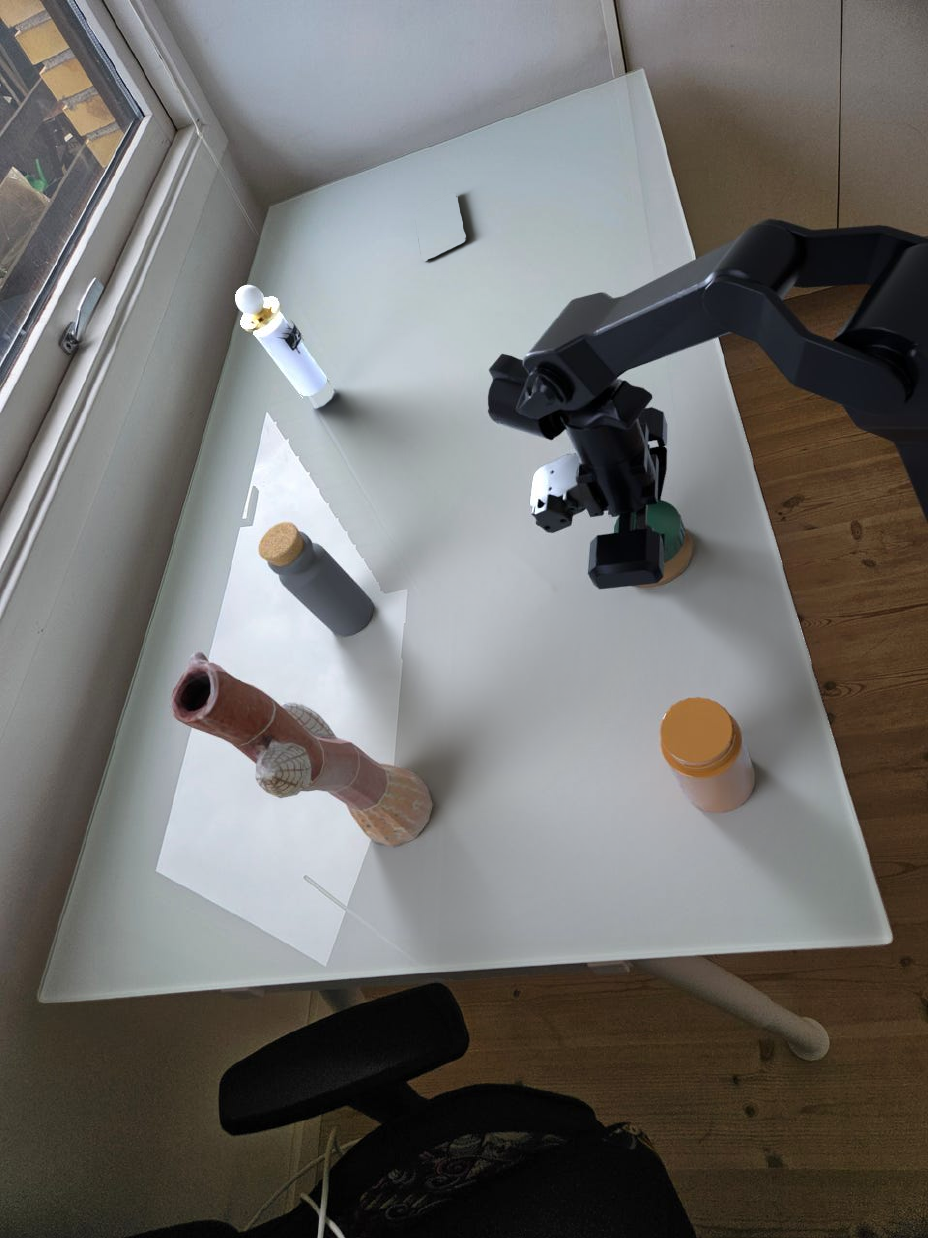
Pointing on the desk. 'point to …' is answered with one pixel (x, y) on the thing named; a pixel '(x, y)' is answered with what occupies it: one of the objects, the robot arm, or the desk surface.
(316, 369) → the perfume bottle
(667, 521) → the jar lid
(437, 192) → the desk surface
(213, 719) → the vase
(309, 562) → the bottle
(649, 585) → the coaster
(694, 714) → the honey jar
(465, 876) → the desk surface
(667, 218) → the desk surface
